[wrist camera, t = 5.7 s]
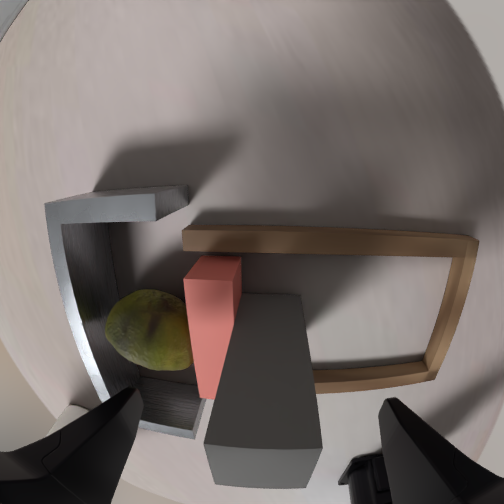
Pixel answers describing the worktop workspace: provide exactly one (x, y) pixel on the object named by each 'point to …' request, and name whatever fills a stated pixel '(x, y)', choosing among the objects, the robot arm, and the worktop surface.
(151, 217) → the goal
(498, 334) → the worktop surface
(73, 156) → the worktop surface
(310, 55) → the worktop surface
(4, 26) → the tea box
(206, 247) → the brown wooden flat frame
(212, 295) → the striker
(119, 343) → the lime
